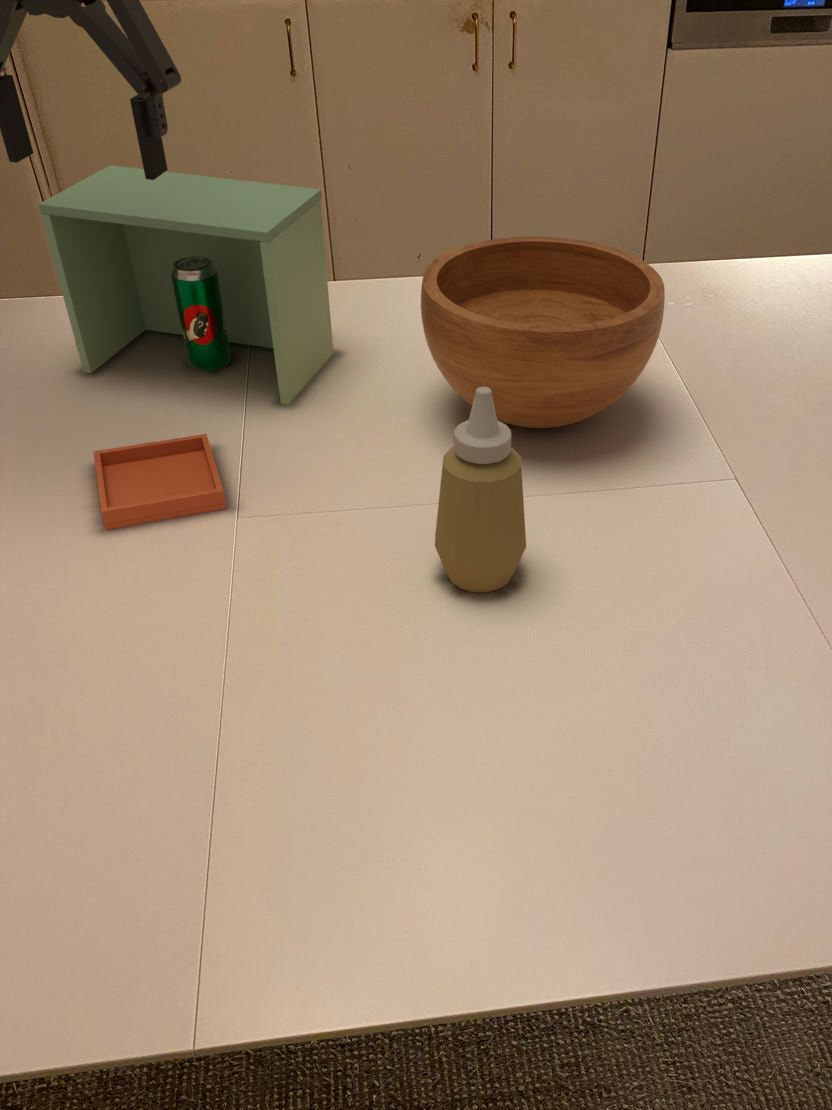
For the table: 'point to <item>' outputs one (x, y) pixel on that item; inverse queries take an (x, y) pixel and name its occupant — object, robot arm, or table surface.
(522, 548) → the squeeze bottle
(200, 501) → the tray
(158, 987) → the table surface
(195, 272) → the soda can
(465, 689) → the table surface
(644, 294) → the bowl
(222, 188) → the cubby
